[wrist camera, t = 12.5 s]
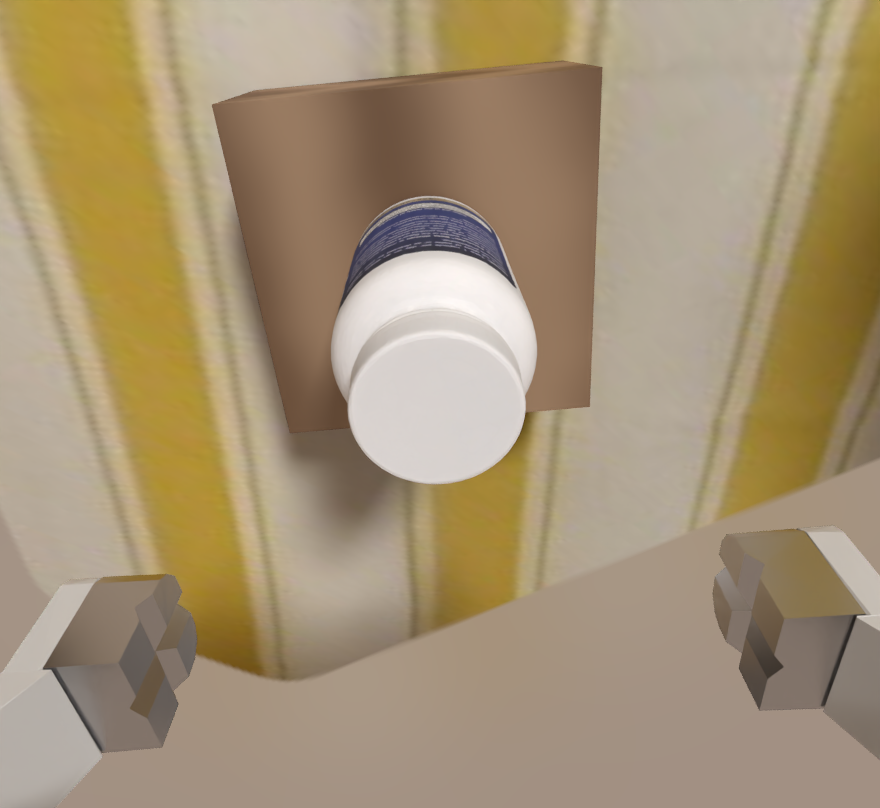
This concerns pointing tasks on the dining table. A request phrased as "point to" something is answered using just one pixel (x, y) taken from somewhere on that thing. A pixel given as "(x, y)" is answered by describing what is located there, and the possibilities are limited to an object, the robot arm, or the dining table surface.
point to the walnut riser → (408, 176)
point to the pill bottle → (433, 343)
